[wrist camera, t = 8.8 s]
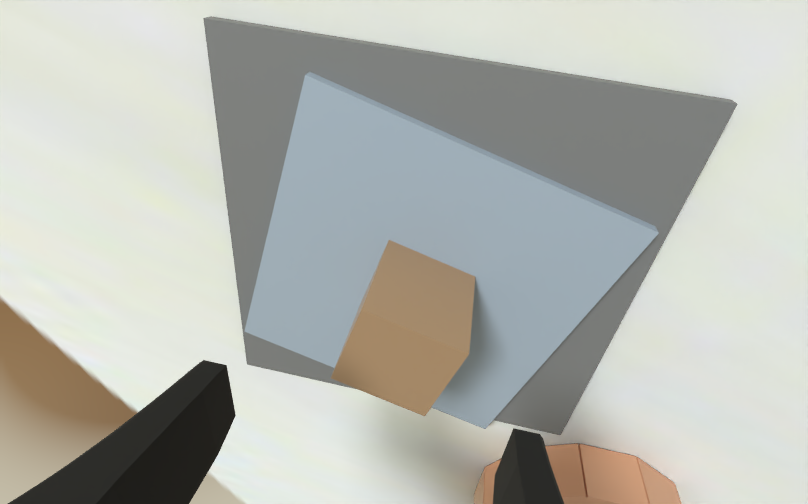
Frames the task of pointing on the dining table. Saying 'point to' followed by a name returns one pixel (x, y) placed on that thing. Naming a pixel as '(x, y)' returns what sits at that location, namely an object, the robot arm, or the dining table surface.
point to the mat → (478, 125)
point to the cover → (426, 258)
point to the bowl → (595, 478)
